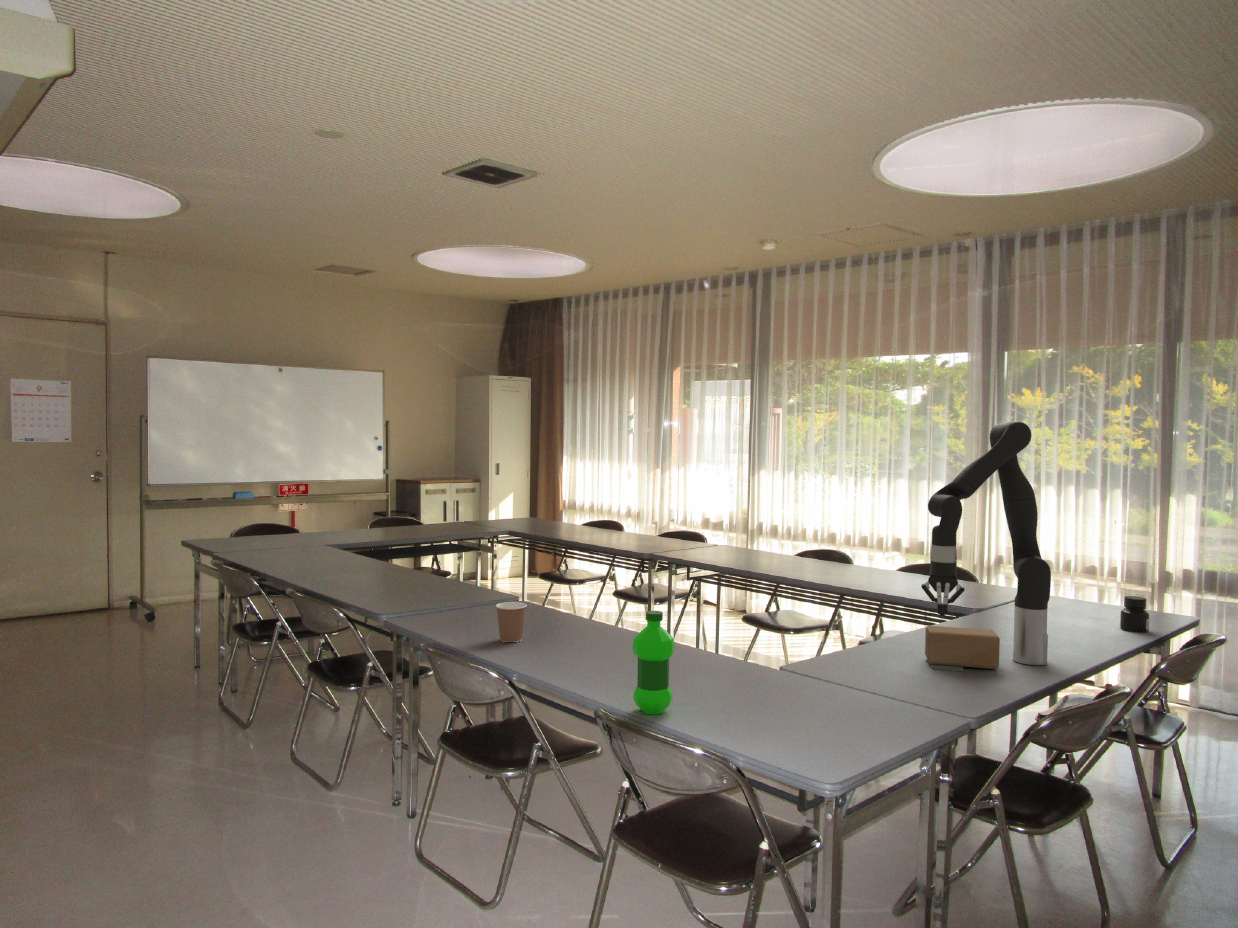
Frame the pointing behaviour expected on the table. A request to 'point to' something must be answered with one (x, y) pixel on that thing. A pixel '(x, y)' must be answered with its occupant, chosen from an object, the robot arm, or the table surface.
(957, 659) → the block
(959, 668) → the mat
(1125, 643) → the table surface
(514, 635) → the coffee cup
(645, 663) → the plastic bottle
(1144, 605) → the ink bottle
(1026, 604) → the robot arm
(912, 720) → the table surface
